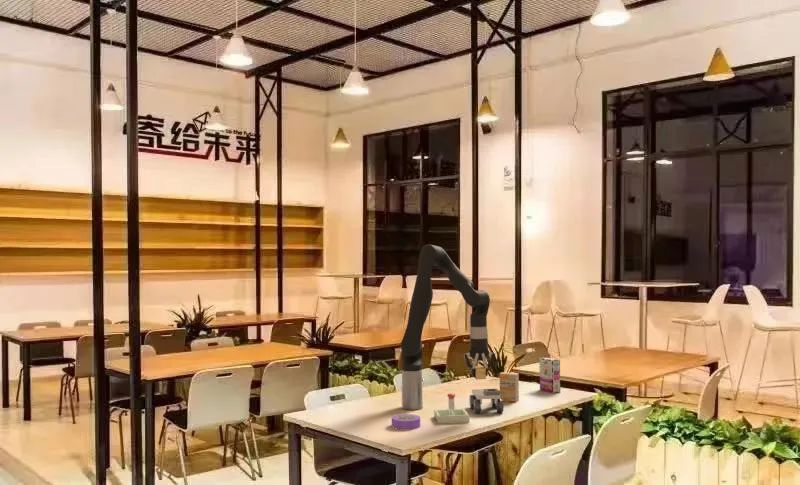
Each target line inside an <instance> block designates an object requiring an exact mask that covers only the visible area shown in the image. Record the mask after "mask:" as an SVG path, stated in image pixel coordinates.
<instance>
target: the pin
mask: <svg viewBox="0 0 800 485" xmlns="http://www.w3.org/2000/svg"><path fill="white" fill-rule="evenodd" d="M447 397H448V409H449V415H454V409H455V397H456V394H455V393H448V394H447Z"/></svg>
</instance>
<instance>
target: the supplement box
mask: <svg viewBox="0 0 800 485" xmlns="http://www.w3.org/2000/svg"><path fill="white" fill-rule="evenodd" d="M519 374H520V373H517V372H515V373H514V372H503V371H502V372H500V373H499V391H500V395H501V399H502V400H503V402H510V403H518V402H519V400H520V395H519V394H520V389H519V388H520V387H519V386H520V384H519V382H520V380H519V377H520V376H519Z"/></svg>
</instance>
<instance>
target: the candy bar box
mask: <svg viewBox="0 0 800 485" xmlns="http://www.w3.org/2000/svg"><path fill="white" fill-rule="evenodd" d="M538 360H539V361H538V362H539V390H540V391H544V392H548V393H552V394H558V393H561V360H560V359H558V358H551V357H539V359H538Z"/></svg>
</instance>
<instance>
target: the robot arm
mask: <svg viewBox="0 0 800 485" xmlns="http://www.w3.org/2000/svg"><path fill="white" fill-rule="evenodd" d="M418 258H419V259H418V266H417V272H416V273H417V274H416V277H415V278H416V279H415V282H414V283H415V284H414V288H413V292H412V295H411V299H410V303H409V305H410V306H409V309H408V310H409V311H408V317H407V318H408V319H407V323H406V324H407V325H406V328H405V332H404V334H403V337H402V339H401V341H400V348H401V352H402V359H401V408H402V410H409V411H410V410H411V411H413V410H415V411H416V410H421V409H423V406H424V405H423V341H422V335H423V330H424V326H425V323H426V321H427V318H428V316H429V314H430V309H431V308H432V302H433V297H434V291H433V285H432V273H433V272H432V271H433V267H437V268H438V269H440V270H441V271H443V272H444V274H445V275H446V276H447V278H448V281H449V282H450V284H451V285H452V286H453V287H454V288H455V289H456V290H457V291H458V292H459V293H460V294H461V296H462V298H463V300H464V301H465V302H466V305H468V306H470V307H471V308H475V310H474V312H472V313H471V314H470V320H469V323H470V326H469V327H470V329H469V340H470V341H469V346H470V348H469V352H466V353H463V358H464V362H465V364H466V366H467V367H468V368H469V369H471V376H472V377H473V378H474V379H476V370H475V367H476V366H477V365H476V364H477V363H478V362H479V361H481V363H482V365H483V367H484V368H486V377H487V376H488V375H489V374H488V371H489V370H488V369H489V368H490V367H492V366H493V363H494V360H495V357H496V354H495V353H494V352H491V351H490V350H489V345H488V344H489V338H488V337H489V334H488V332H489V331H488V320H487V317H488V313H489V307H490V302H491V299H490V298H491V297H490V295H489V293H488V292H487V291H486V290H483V289H482V290H481V289H479V290H475V289H474V287H475V285H474V283H473V281H472V280H471V279H470V278H469V277H468V276H467V275H465V273H463V272H462V270H460V269H459V267H457V265H456V264H455V263H454V261H453V260H452V259H451V258H450V256H449V255H448V254H447V252H446V251H445V250H444V248H443V247H441V246H439V245H433V244H429V243H428V244H426V245H423V247H422V248H421V250H420V254H419V257H418ZM470 356H471V357H470ZM488 356H489V359H488V362H487V357H488ZM469 358H472V361H471V362H470V360H469Z"/></svg>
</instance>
